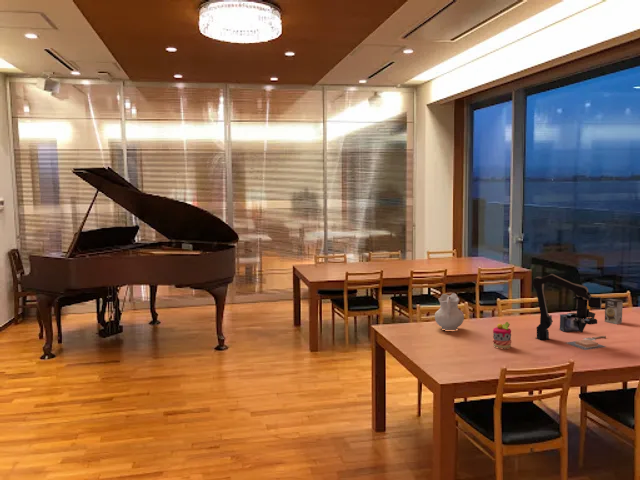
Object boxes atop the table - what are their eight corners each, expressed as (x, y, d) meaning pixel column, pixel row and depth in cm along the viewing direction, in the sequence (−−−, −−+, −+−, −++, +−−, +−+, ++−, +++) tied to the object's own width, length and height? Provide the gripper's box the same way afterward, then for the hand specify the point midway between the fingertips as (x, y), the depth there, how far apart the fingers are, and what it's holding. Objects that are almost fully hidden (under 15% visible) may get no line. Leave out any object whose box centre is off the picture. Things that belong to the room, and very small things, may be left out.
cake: (499, 350, 314) (499, 325, 312) (489, 345, 324) (489, 321, 323) (515, 348, 317) (515, 323, 315) (504, 343, 327) (504, 319, 325)
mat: (584, 350, 308) (584, 350, 308) (564, 343, 323) (564, 342, 323) (606, 347, 313) (606, 346, 312) (585, 340, 328) (585, 339, 328)
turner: (588, 341, 325) (588, 339, 325) (582, 339, 330) (582, 337, 330) (608, 339, 330) (608, 337, 330) (601, 337, 335) (601, 335, 334)
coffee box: (604, 321, 371) (604, 298, 370) (610, 320, 374) (610, 297, 372) (616, 324, 363) (616, 301, 361) (622, 323, 365) (623, 300, 364)
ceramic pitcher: (467, 335, 351) (469, 298, 348) (437, 334, 351) (440, 296, 349) (459, 327, 372) (461, 292, 370) (431, 325, 372) (433, 290, 370)
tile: (575, 344, 319) (585, 347, 312) (575, 341, 319) (585, 344, 311) (587, 342, 322) (598, 346, 314) (587, 339, 322) (598, 342, 314)
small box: (564, 332, 348) (564, 316, 347) (559, 329, 354) (559, 314, 353) (579, 331, 348) (580, 315, 347) (574, 329, 354) (575, 313, 353)
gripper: (605, 309, 312) (604, 335, 313) (581, 302, 330) (580, 327, 331) (589, 310, 309) (589, 337, 310) (566, 304, 326) (565, 329, 328)
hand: (581, 332), depth 320 cm, fingers closed
